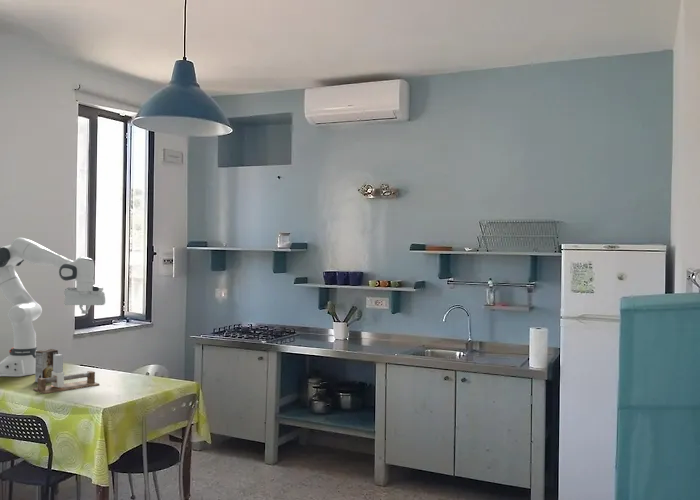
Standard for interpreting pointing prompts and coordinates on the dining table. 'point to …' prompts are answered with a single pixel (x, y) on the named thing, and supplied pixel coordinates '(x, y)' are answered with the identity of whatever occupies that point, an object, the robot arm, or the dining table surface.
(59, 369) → the collar
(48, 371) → the coffee box
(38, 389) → the pipe stand
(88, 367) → the dining table surface
